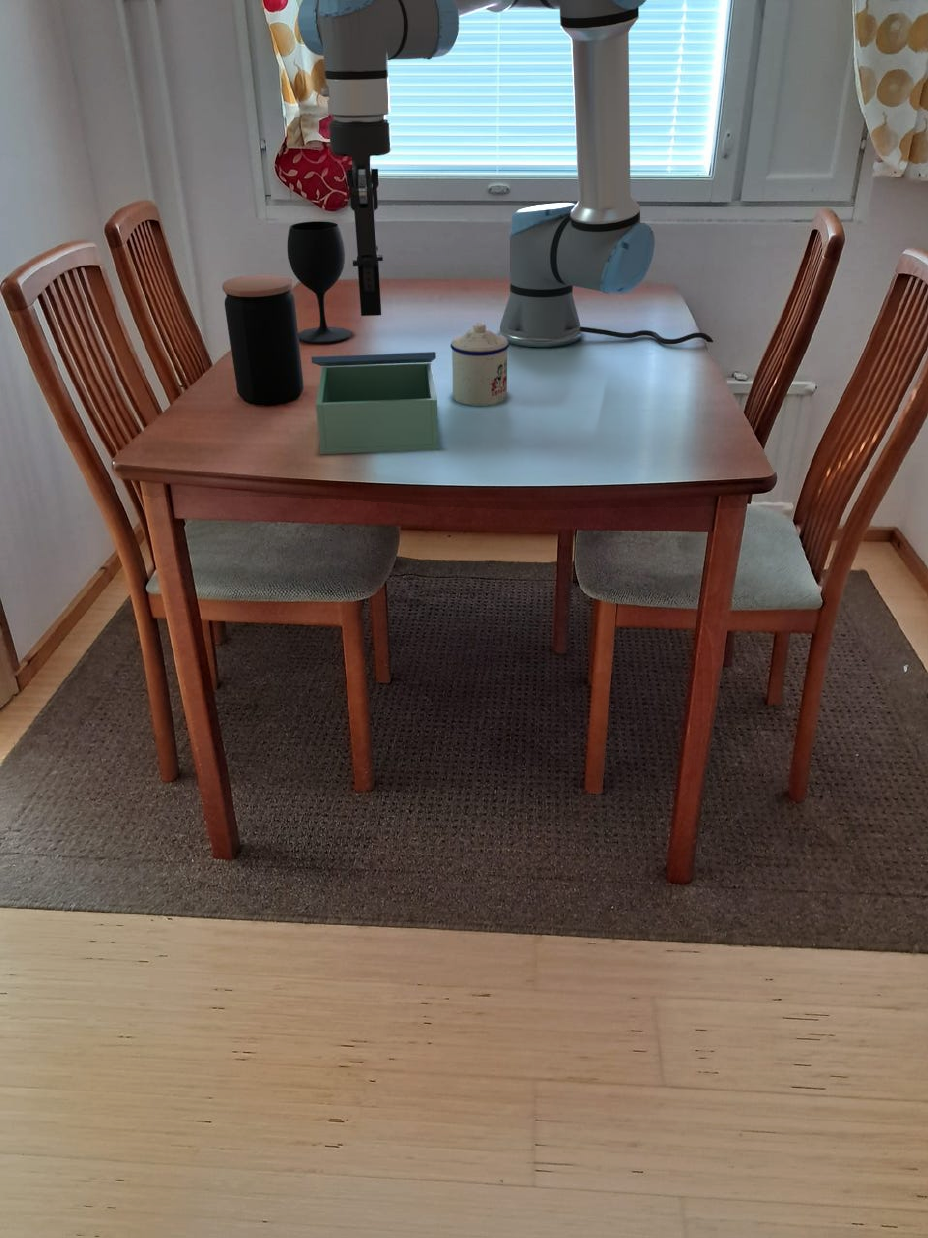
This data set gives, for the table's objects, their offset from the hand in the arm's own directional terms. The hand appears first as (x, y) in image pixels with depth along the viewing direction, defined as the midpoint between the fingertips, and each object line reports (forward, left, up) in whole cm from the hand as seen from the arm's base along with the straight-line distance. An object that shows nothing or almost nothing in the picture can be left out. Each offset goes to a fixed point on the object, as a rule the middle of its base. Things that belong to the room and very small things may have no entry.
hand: (371, 313), depth 130 cm
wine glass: (+10, -54, -18) cm, 58 cm away
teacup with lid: (-17, -18, -18) cm, 30 cm away
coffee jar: (+17, -21, -18) cm, 33 cm away
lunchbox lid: (0, -4, -8) cm, 9 cm away
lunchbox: (0, -4, -18) cm, 18 cm away
